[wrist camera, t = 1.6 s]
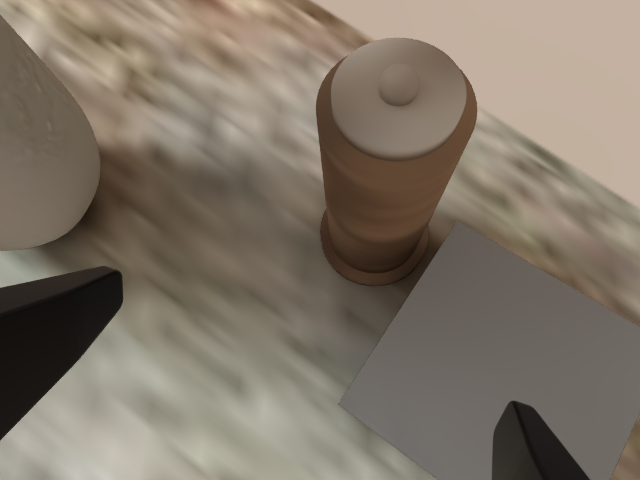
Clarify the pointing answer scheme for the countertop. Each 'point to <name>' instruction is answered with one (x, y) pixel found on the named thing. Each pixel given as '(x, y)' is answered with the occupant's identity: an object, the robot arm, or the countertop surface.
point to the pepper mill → (388, 153)
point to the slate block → (498, 364)
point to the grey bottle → (40, 150)
